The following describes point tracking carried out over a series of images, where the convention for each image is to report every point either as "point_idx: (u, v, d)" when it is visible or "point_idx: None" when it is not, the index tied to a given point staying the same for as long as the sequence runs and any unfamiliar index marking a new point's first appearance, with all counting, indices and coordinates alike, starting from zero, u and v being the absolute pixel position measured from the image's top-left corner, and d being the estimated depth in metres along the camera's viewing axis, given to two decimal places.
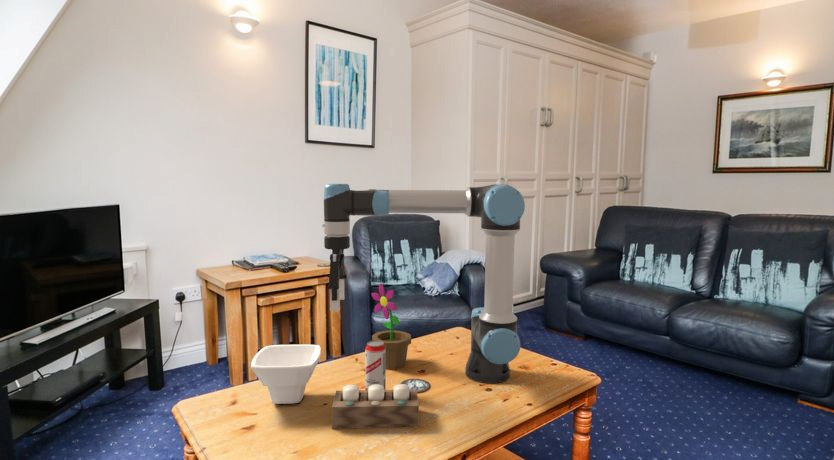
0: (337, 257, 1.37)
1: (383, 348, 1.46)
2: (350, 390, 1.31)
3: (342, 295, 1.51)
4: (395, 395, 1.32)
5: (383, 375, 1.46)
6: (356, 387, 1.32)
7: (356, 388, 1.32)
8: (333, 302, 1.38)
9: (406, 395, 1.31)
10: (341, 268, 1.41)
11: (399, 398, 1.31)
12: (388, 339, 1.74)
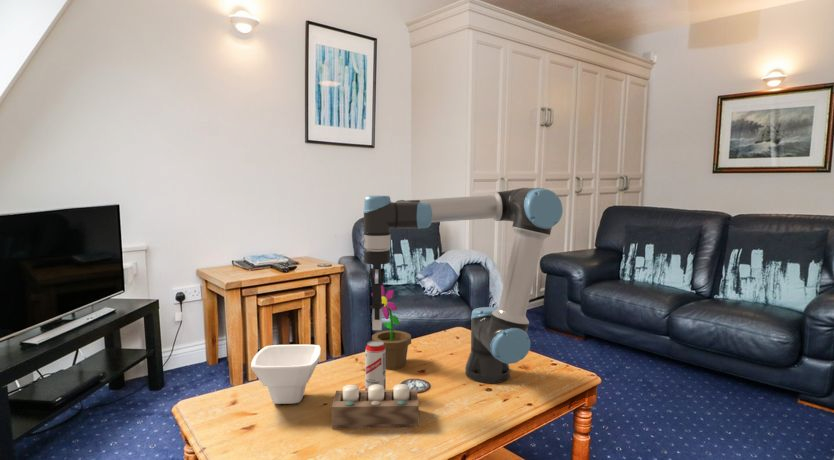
0: (379, 281, 1.32)
1: (383, 348, 1.46)
2: (350, 390, 1.31)
3: None
4: (395, 395, 1.32)
5: (383, 375, 1.46)
6: (356, 387, 1.32)
7: (356, 388, 1.32)
8: (375, 321, 1.38)
9: (406, 395, 1.31)
10: None
11: (399, 398, 1.31)
12: (388, 339, 1.74)
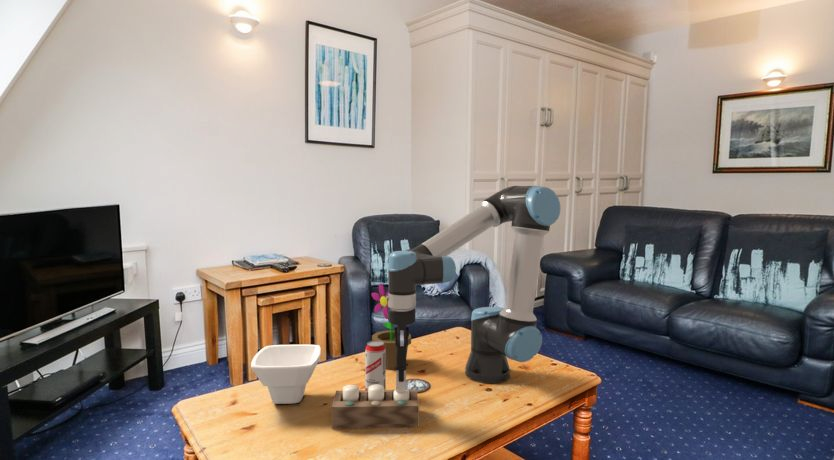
0: (405, 344, 1.25)
1: (383, 348, 1.46)
2: (350, 390, 1.31)
3: None
4: (395, 399, 1.32)
5: (383, 375, 1.46)
6: (356, 387, 1.32)
7: (356, 388, 1.32)
8: (399, 383, 1.32)
9: None
10: None
11: None
12: (388, 339, 1.74)
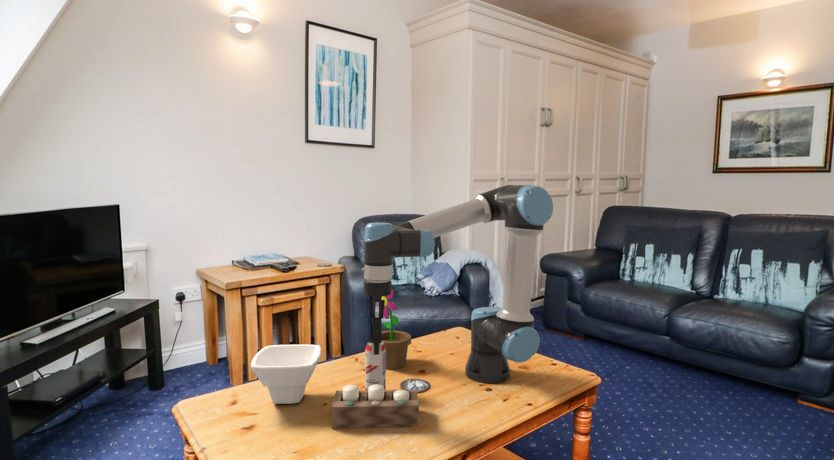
0: (380, 315, 1.24)
1: (383, 348, 1.46)
2: (350, 390, 1.31)
3: None
4: None
5: (383, 375, 1.46)
6: (356, 387, 1.32)
7: (356, 388, 1.32)
8: (375, 356, 1.30)
9: None
10: None
11: None
12: (388, 339, 1.74)
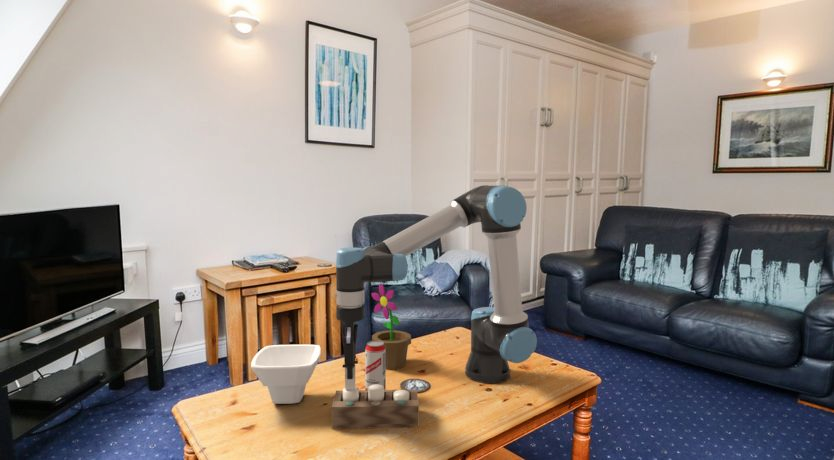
0: (351, 341, 1.25)
1: (383, 348, 1.46)
2: (350, 391, 1.31)
3: None
4: None
5: (383, 375, 1.46)
6: (356, 389, 1.32)
7: (356, 389, 1.32)
8: (348, 380, 1.31)
9: None
10: None
11: None
12: (388, 339, 1.74)
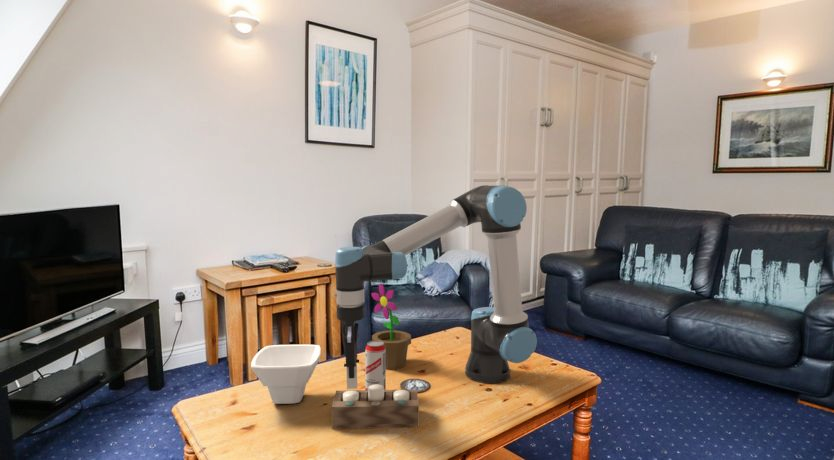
0: (352, 340, 1.25)
1: (383, 348, 1.46)
2: (350, 396, 1.31)
3: None
4: None
5: (383, 375, 1.46)
6: (356, 393, 1.32)
7: (356, 394, 1.32)
8: (350, 379, 1.31)
9: None
10: None
11: None
12: (388, 339, 1.74)
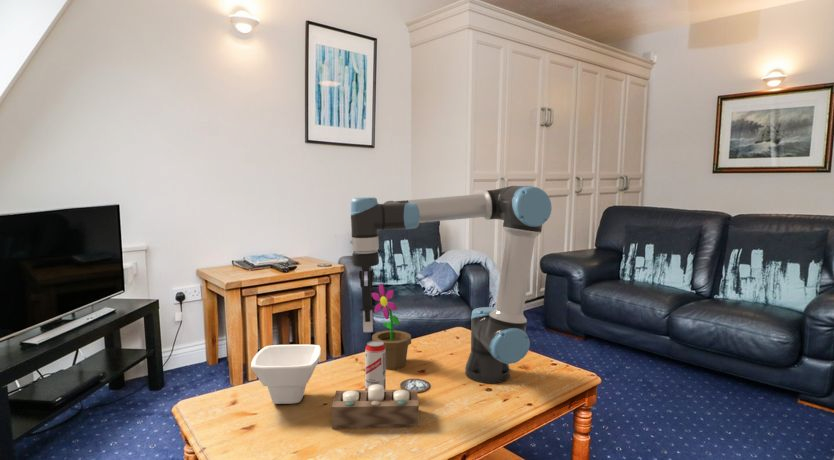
0: (369, 283, 1.32)
1: (383, 348, 1.46)
2: (350, 396, 1.31)
3: None
4: None
5: (383, 375, 1.46)
6: (356, 393, 1.32)
7: (356, 394, 1.32)
8: (366, 323, 1.38)
9: None
10: None
11: None
12: (388, 339, 1.74)
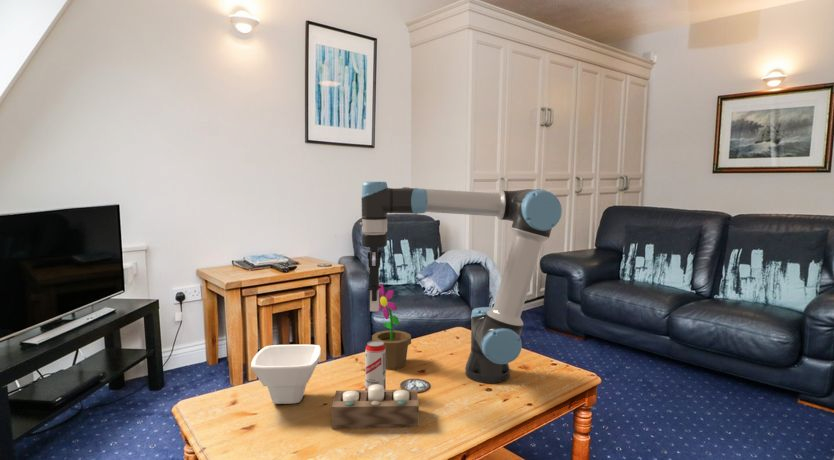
0: (376, 263, 1.37)
1: (383, 348, 1.46)
2: (350, 396, 1.31)
3: None
4: None
5: (383, 375, 1.46)
6: (356, 393, 1.32)
7: (356, 394, 1.32)
8: (373, 302, 1.44)
9: None
10: (379, 266, 1.43)
11: None
12: (388, 339, 1.74)
